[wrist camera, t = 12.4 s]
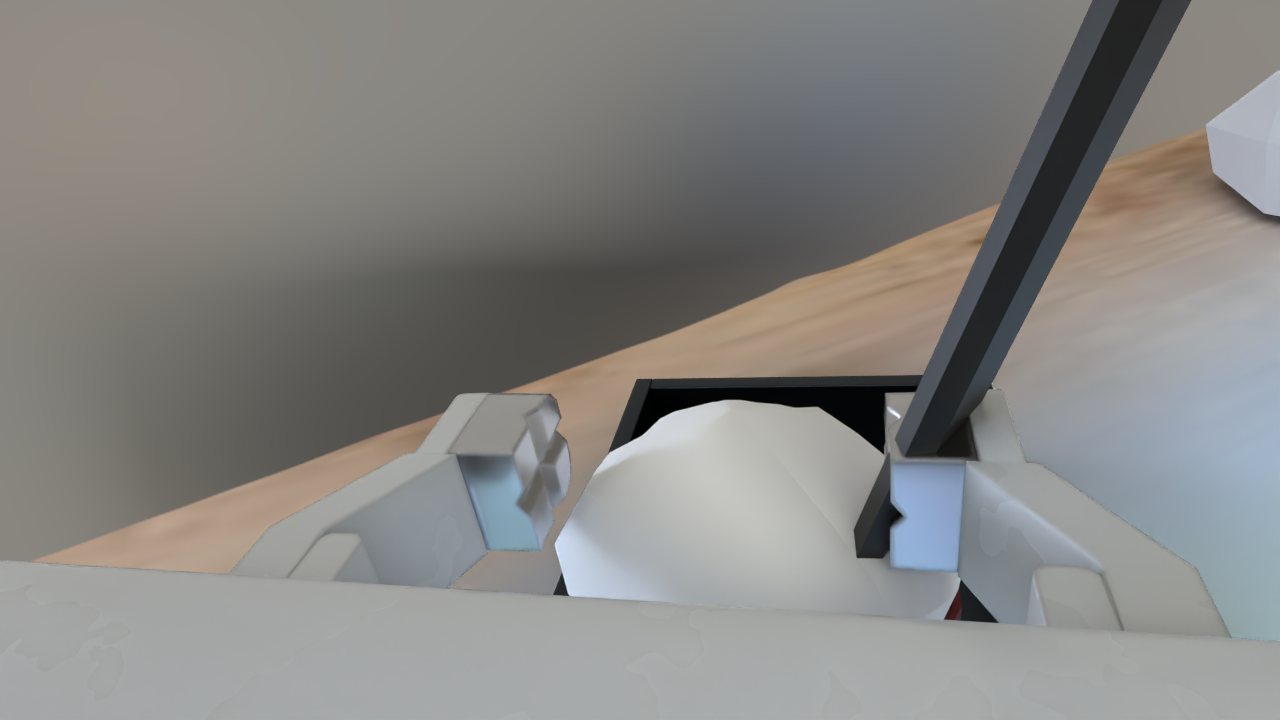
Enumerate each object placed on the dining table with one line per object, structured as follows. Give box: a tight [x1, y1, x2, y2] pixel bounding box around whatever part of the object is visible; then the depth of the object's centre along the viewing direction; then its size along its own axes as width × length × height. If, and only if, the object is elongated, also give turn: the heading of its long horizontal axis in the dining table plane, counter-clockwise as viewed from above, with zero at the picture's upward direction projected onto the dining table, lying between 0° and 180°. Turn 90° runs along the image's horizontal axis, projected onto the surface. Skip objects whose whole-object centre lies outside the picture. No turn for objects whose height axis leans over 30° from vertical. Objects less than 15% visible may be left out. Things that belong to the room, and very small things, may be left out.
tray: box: [553, 375, 999, 623], centre depth 30 cm, size 16×18×4 cm
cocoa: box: [554, 0, 1191, 621], centre depth 12 cm, size 10×6×12 cm, turn 28°
